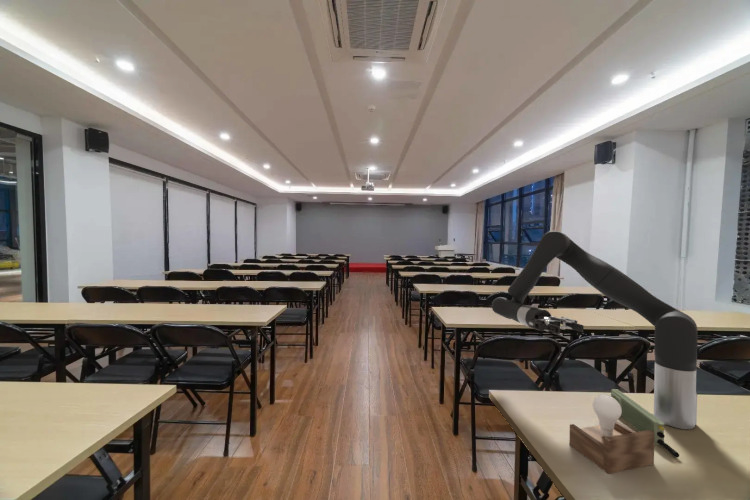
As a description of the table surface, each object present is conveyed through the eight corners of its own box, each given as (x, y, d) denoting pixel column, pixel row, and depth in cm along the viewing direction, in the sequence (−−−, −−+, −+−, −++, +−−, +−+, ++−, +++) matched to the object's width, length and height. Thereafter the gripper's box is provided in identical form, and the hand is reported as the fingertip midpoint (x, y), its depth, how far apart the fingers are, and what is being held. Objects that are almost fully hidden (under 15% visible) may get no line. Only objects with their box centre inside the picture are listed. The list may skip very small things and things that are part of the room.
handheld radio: (620, 408, 105) (684, 460, 81) (609, 408, 106) (670, 460, 81) (619, 388, 105) (684, 434, 80) (609, 388, 106) (669, 434, 81)
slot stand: (611, 437, 90) (611, 409, 90) (653, 464, 79) (654, 432, 79) (569, 444, 87) (569, 415, 86) (608, 473, 76) (608, 440, 76)
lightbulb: (588, 435, 84) (588, 395, 84) (597, 427, 88) (598, 388, 87) (615, 448, 79) (616, 404, 79) (624, 438, 83) (625, 397, 82)
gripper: (516, 308, 112) (551, 319, 96) (550, 305, 115) (590, 316, 99) (516, 329, 112) (551, 343, 96) (550, 326, 115) (590, 340, 100)
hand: (571, 329), depth 98 cm, fingers open, 8 cm apart
